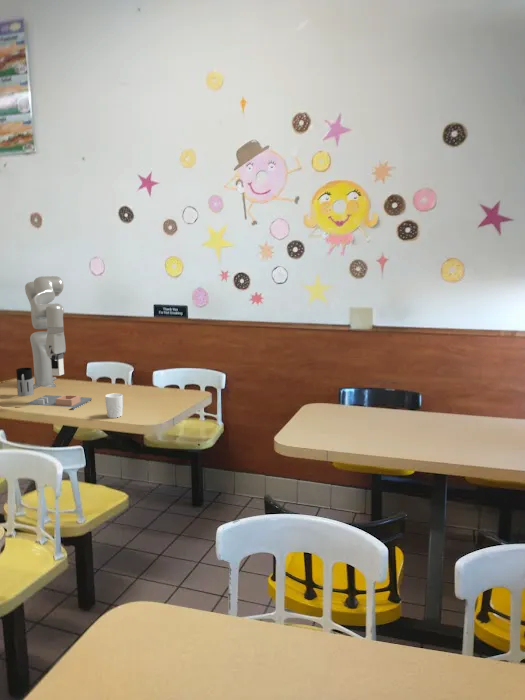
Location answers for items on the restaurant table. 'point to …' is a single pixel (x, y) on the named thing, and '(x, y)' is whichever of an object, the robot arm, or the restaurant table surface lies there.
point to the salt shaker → (59, 366)
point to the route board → (61, 401)
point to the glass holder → (24, 382)
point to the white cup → (114, 405)
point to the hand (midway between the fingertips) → (57, 367)
